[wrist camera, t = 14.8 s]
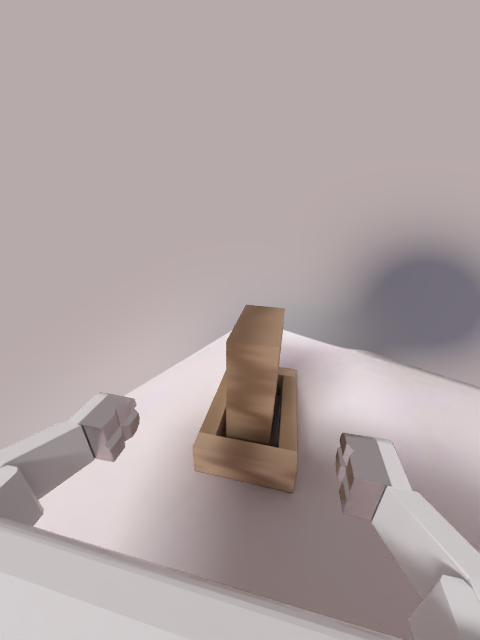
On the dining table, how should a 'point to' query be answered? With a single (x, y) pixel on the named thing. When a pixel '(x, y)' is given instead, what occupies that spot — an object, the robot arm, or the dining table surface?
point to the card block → (253, 373)
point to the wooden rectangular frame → (247, 457)
